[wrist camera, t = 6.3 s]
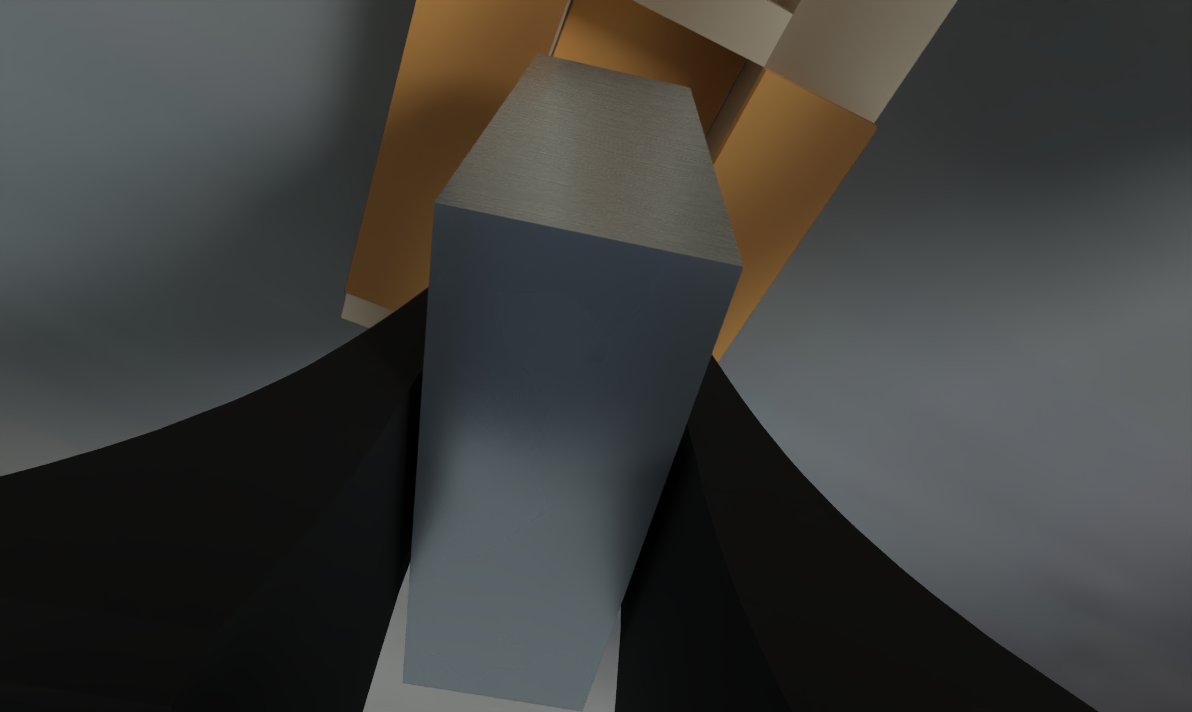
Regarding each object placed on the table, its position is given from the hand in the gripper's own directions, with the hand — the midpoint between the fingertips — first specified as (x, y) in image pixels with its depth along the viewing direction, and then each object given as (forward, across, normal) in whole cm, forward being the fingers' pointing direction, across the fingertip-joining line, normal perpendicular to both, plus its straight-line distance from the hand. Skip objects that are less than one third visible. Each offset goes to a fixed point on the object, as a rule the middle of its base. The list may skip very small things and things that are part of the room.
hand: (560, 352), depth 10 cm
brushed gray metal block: (+3, 0, 0) cm, 3 cm away
